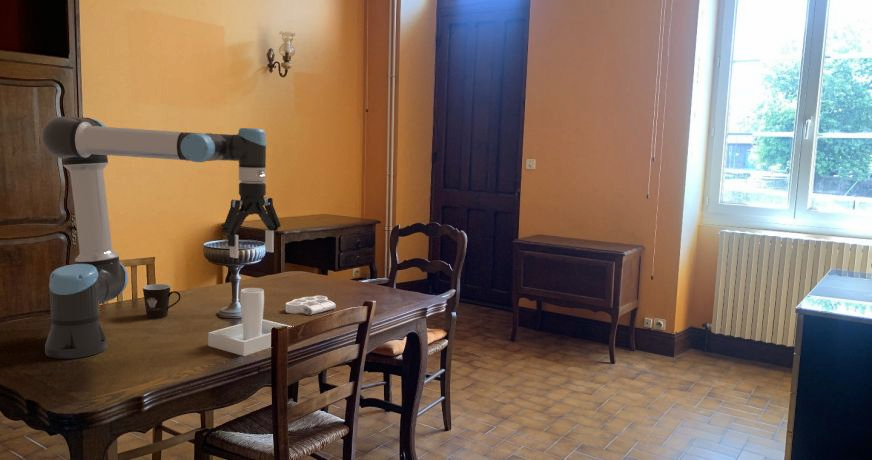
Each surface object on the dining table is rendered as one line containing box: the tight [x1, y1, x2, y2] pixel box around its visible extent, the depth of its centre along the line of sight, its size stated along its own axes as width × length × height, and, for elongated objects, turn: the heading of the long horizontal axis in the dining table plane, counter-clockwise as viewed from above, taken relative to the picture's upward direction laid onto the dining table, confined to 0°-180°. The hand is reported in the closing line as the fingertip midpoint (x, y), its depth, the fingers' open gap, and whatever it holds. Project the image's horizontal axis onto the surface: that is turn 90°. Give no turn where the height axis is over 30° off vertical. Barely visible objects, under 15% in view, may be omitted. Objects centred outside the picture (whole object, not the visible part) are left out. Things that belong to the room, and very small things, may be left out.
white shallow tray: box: [207, 318, 292, 357], centre depth 199 cm, size 20×15×4 cm
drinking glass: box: [239, 287, 265, 340], centre depth 198 cm, size 7×7×15 cm
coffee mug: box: [142, 283, 182, 320], centre depth 223 cm, size 12×9×10 cm
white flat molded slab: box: [285, 295, 337, 316], centre depth 241 cm, size 3×18×15 cm
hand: (252, 254), depth 196 cm, fingers open, 13 cm apart
